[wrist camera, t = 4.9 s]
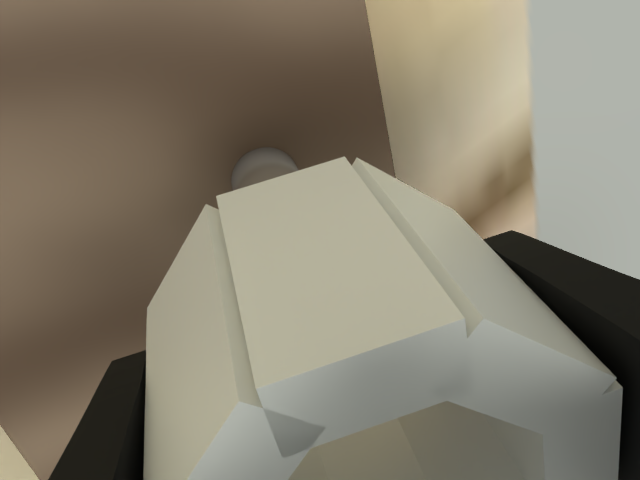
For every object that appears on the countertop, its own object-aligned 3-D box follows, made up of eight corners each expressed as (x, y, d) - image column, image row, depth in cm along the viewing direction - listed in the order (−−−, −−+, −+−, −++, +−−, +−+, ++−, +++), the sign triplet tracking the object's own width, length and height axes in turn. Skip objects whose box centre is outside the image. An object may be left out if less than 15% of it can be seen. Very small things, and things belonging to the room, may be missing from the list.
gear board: (437, 463, 25) (487, 563, 22) (129, 574, 24) (125, 700, 20) (323, -156, 14) (386, -178, 10) (-266, -4, 13) (-445, 37, 9)
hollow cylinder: (448, 124, 10) (628, 262, 6) (477, 375, 13) (612, 574, 9) (105, 230, 9) (71, 451, 6) (216, 465, 12) (243, 716, 8)
